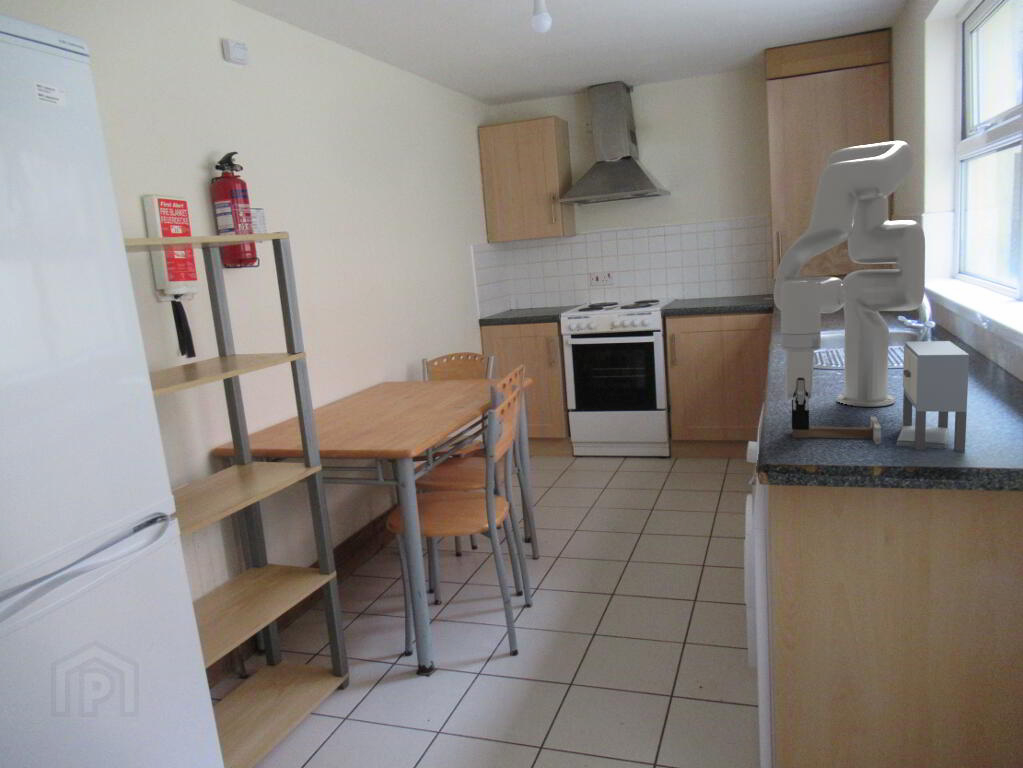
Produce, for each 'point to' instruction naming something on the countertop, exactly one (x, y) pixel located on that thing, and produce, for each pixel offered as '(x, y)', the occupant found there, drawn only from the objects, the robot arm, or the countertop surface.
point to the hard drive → (933, 436)
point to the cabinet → (935, 387)
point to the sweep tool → (843, 432)
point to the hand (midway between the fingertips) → (800, 423)
